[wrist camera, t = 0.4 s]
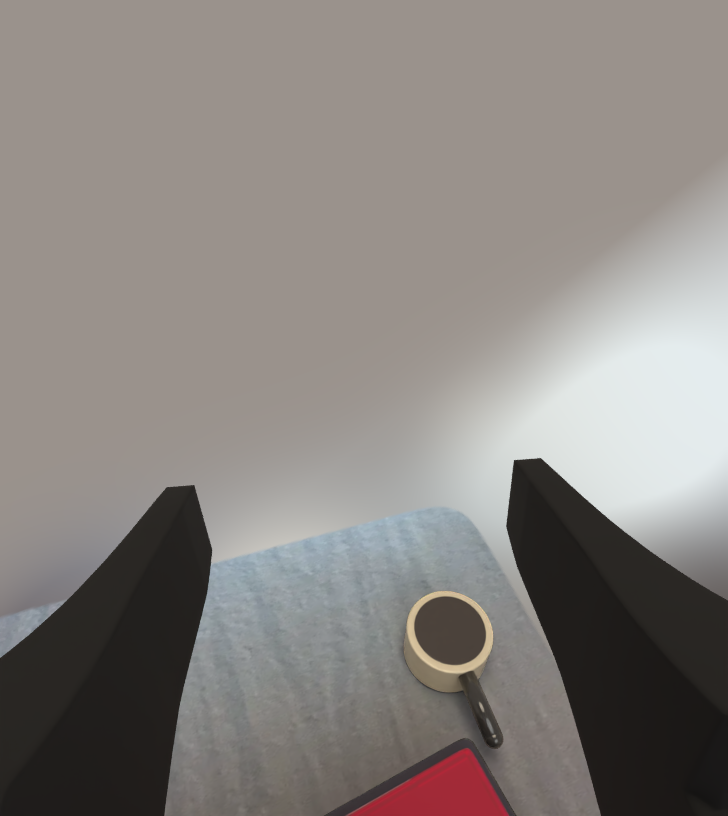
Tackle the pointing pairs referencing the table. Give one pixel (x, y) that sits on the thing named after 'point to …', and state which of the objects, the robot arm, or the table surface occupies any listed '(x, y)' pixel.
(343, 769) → the table surface
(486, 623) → the pan
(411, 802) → the calculator
